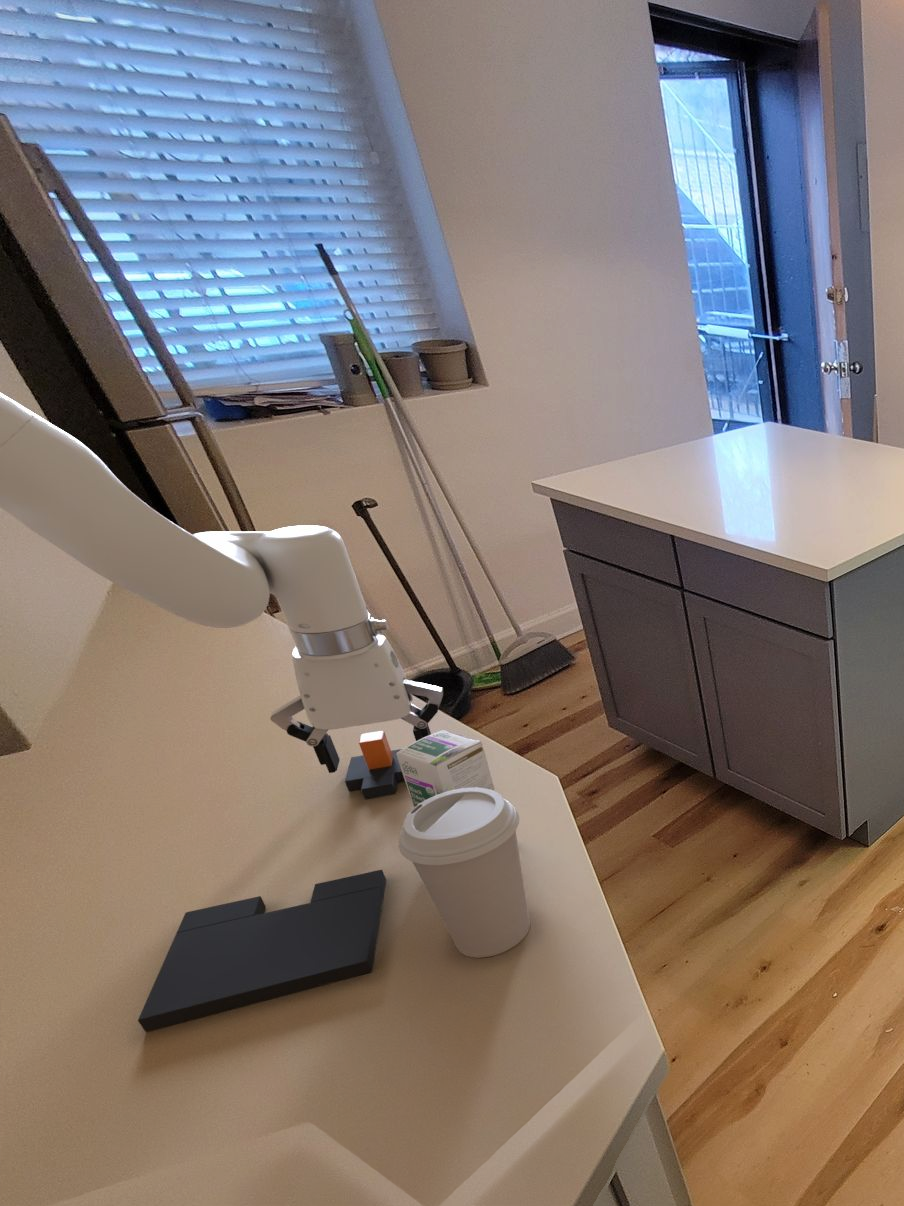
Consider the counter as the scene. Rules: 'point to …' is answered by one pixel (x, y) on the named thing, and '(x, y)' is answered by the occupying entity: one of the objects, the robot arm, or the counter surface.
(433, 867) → the coffee cup
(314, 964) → the notch pad
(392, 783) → the pad
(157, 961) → the counter surface
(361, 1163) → the counter surface
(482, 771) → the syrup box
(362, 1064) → the counter surface
